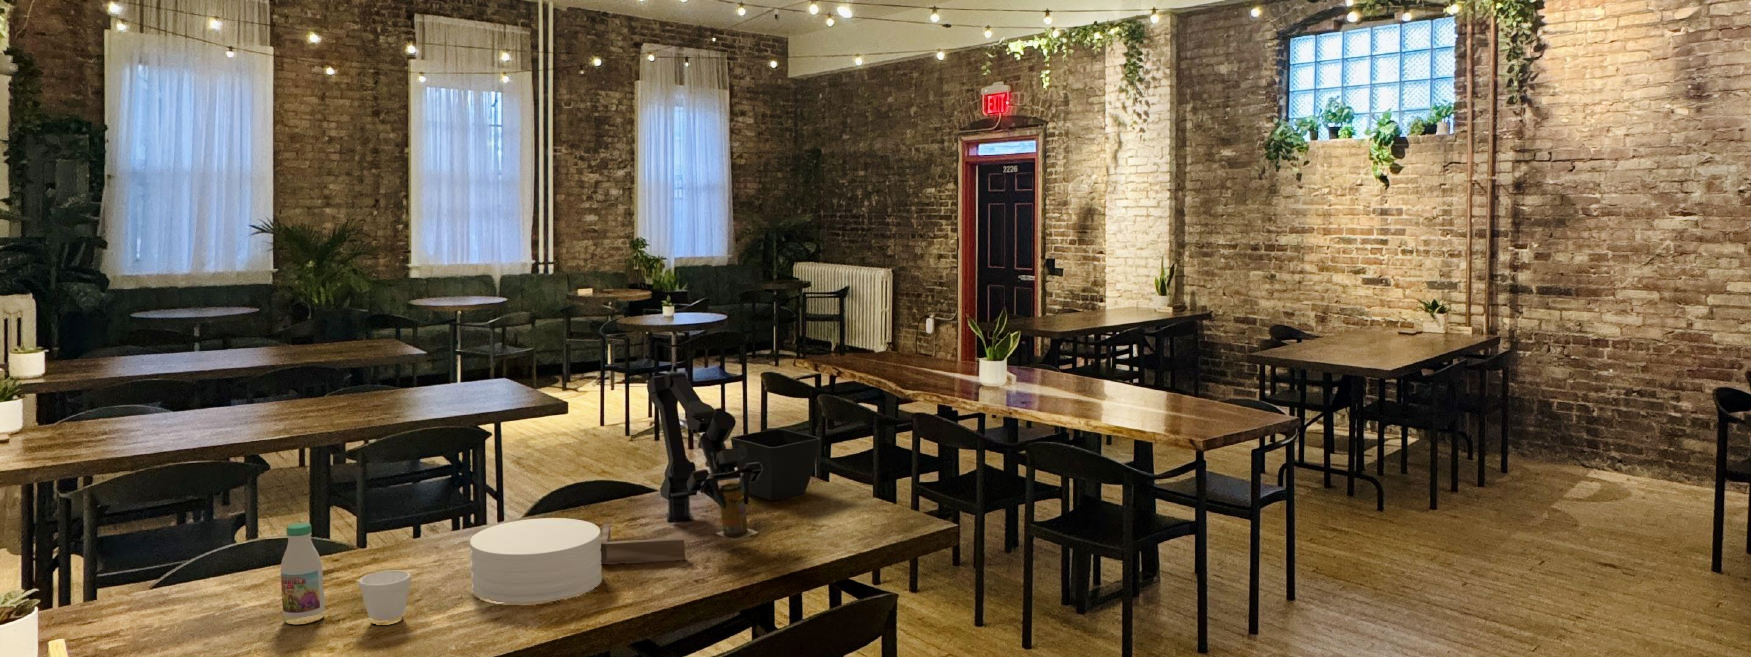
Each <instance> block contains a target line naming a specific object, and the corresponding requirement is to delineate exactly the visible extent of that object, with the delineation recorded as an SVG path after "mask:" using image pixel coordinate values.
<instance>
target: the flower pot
mask: <svg viewBox="0 0 1751 657" xmlns="http://www.w3.org/2000/svg"><path fill="white" fill-rule="evenodd" d="M820 441H821V438H820V437H817V436H813V435H810V434H805V433H802V432H801V433H800V432H796V431H793V430H792V431H791V430H789V429H783V428H773V429H766V430H761V431H756V432H752V433H751V432H749V433H747V434H741V435H736V436H731V437H730V442H731V449H732V448H735V447H736V446H738V445H743V444H744V446H745V448H746V450H747V456H746V457H745V458H742V461H738V462H737V463H738V466H737V467H736V470H742V469H743V467H744V465H745V464H746V463H753V462H759V463H760V464H761V465H762V468H763V472H762V473H761V475H760V477H759V478H758V480H757V481H756V482H753V483H749V495H751V496H754V497H758V498H762V499H764V500H765V499H766V500H768V501H772V502H774V501H780V500H783V499H788V498H792V497H795V496H800V495H804V494H805V493H806V491H807V489H808V486H809V484H810V481H811V478H812V475H813V472H814V468H815V465H816V461H817V456H818V453H819V448H820ZM803 493H804V494H803Z"/></svg>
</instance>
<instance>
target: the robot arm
mask: <svg viewBox="0 0 1751 657" xmlns="http://www.w3.org/2000/svg"><path fill="white" fill-rule="evenodd" d="M646 384H647V385H646V389H647V393H648V394H649V399H650V401H651V402H652V404H653V405H655V407H656V408H657V409H658V411H659V417H660V422H661V428H662V433H663V438H664V444H665V449H666V455H667V460H668V462H667V465H666V468H665V471H664V480H663V482H662V484H661V486H660V487H659V492H660V497H661V498H664V499H665V500H667V506H668V507H667V508H668V509H667V510H668V511H667V514H666V521H667V522H668V523H670V522H684V521H685V522H686V521H692V520H693V516H692V512H691V504H690V503H691V502H690V500H691V499H690V497H692V496H697V494H698V492H699V491H700V492H699V493H701V494H704V495H706V496H707V497H709V498H711V499H712V500H713V501H714V502H715V503H716V504H717V505H719V507H720V506H721V507H722V508H723V509H725V508H726V504H725V501H724V498H723V496H722V494H721V491H720V487H719V482H721V481H727V480H728V481H729V480H733V479H734V480H735V479H737V484H740V485H741V487H742V488H741V489H742V494H743V496H744V499H745V506H748V504H749V503H750V494H749V483H753V482H756V481H757V480H758V478H759V477H760V475H761V473H762V472H763V468H762V465H761V464H760V463H759V462H753V463H746V464H745V465H744V467H743V469H742V470H737V469H736V468H737V466H738V463H737V462H738V461H742V458H745V457H746V456H747V450H746V448H745V446H744V444H743V445H738V446H736V447H735V448H732V447H731V448H727V446H726V444H725V442H726V441H727V440H728V439H729V437H730V435H731V433H732V431H733V430H734V429H735V427H736V425H737V424H736V422H737V420H736V417H735V416H734V415H733V414H731V413H730V412H728V411H725V410H724V407H718V408H714V407H713V406H712V405H710V404H708V403H706V402H704V401H702V400H701V398H700V396H699V395H698V394H697V392H696V391H695V389H694V388H693V387H692V385H691V383H690V382H689V380H688V376H687V374H686V373H685V372H681V371H680V372H679V371H678V372H672V373H670V372H669V373H668V374H664V375H657V376H651V377H650V379H649V380H648V381H647V383H646ZM678 404H680V405H681V407H682V408H683V410H684V412H685V413H686V415H687V417H686V421H685V422H686V424H687V428H688V429H689V430H690V432H691V433H692V434H695V435H696V434H701V436H700V437H699V440H698V443H697V448H698V449H702V451H703V455H704V457H705V460H706V461H705V463H704V464H705V467H706V468H709V470H708V469H700V470H697V469H696V464H695V463H694V461H690V459H688V457H687V454H686V449H685V444H684V439H683V432H682V427H681V421H680V416H679V411H678ZM735 469H736V470H735ZM709 471H710V472H709Z"/></svg>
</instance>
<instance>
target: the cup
mask: <svg viewBox="0 0 1751 657" xmlns="http://www.w3.org/2000/svg"><path fill="white" fill-rule="evenodd" d="M411 580H412V574H411V573H410V572H409V571H407V570H401V569H387V570H380V571H375V572H371V573H370V572H369V573H368V574H365V575H363V576H362V577H360V578H359V580H358V588H359V589H360V593H361V596H362V599H363V603H364V605H365V608H366V609H365V610H366V612H367V616H368V618H369V619H370V618H372V619H374V620H378V621H383V620H384V621H385V620H391V619H394V618H399V617H401V616H402V615H403V614H404V615H405V610H406V607H407V606H406V605H407V601H408V600H407V599H408V595H409V590H410V586H411V585H410V584H411Z"/></svg>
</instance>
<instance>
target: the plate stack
mask: <svg viewBox="0 0 1751 657" xmlns="http://www.w3.org/2000/svg"><path fill="white" fill-rule="evenodd" d="M601 536H602V532H601V529H600V527H599V526H598V525H596V524H595V523H592V522H590V521H586V520H582V519H574V518H565V517H563V518H561V517H559V518H558V517H547V518H546V517H545V518H544V517H543V518H531V519H530V518H529V519H521V520H515V521H509V522H504V523H500V524H497V525H493V526H489V527H487V528H484V529H482V530H480V531H478V532H477V533H475V534H474V535H472V537H470V539H469V548H470V570H471V576H470V577H471V583H472V585H471V591H472V590H473V591H474V593H476V594H477V595H478V596H480V597H482V598H484V599H489V600H491V601H496V602H505V603H511V604H534V603H540V602H551V601H556V600H560V599H566V598H571V597H573V596H577V595H581V594H583V593H586V592H588V591H590V590H593V589H594V588H595V587H597V586H598V585H599V584H600V583H602V582H603V575H602V574H603V573H602V566H603V565H601V551H600V549H601ZM601 581H602V582H601ZM600 585H601V584H600ZM600 585H599V586H600ZM599 586H598V587H599ZM598 587H597V588H598ZM594 590H595V589H594ZM594 590H593V591H594Z"/></svg>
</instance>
